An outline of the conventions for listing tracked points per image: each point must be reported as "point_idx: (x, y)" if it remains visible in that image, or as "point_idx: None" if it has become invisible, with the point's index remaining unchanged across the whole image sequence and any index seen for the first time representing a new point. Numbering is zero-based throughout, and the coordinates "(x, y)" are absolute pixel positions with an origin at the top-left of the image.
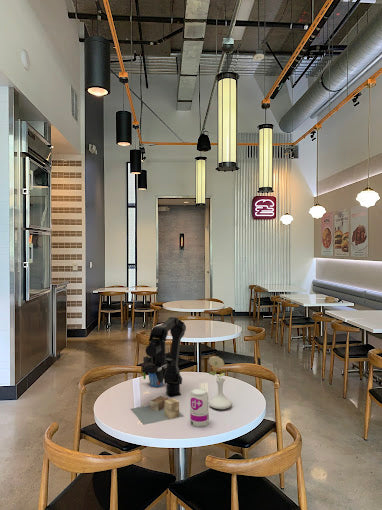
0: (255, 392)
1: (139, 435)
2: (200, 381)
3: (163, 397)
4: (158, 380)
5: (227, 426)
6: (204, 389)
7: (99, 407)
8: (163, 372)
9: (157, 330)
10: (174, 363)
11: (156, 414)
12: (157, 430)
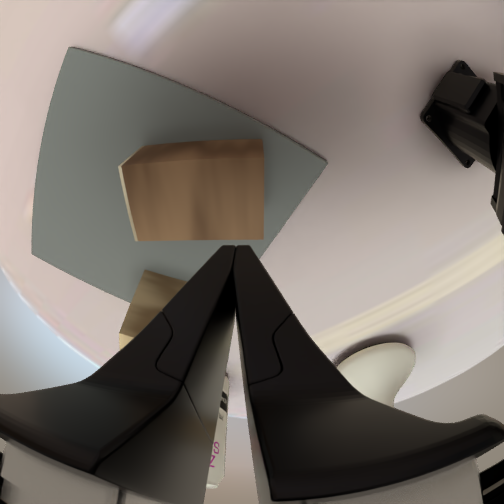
0: (490, 353)
1: (11, 281)
2: None
3: (249, 202)
4: (206, 267)
5: (241, 409)
6: (217, 486)
7: None
8: (252, 450)
9: None
10: (488, 487)
11: (119, 231)
12: (63, 306)
